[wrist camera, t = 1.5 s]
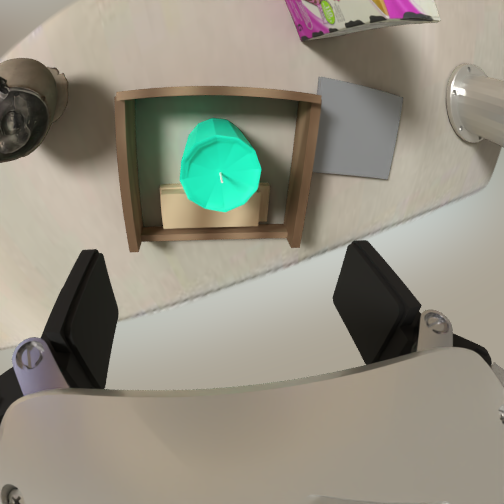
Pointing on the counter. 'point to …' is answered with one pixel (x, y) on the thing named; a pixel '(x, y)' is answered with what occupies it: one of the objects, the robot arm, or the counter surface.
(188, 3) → the counter surface
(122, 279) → the counter surface
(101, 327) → the robot arm
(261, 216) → the offcut stack
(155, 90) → the wooden tray
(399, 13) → the candy bar box
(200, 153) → the candle
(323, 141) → the mat
